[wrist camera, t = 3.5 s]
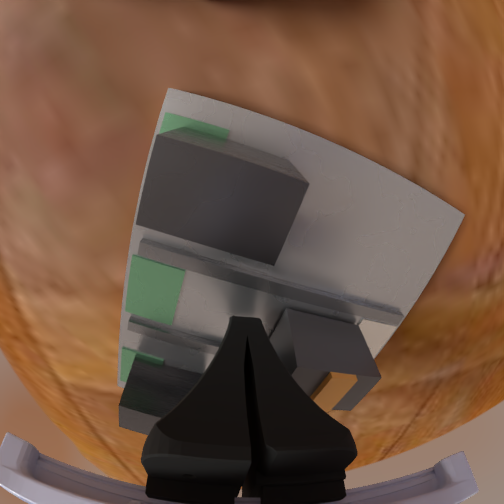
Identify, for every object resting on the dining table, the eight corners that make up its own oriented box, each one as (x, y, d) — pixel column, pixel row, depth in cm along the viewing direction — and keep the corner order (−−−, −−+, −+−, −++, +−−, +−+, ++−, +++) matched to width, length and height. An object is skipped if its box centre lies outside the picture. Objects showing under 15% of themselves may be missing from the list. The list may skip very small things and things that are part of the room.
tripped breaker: (358, 325, 14) (383, 382, 10) (334, 358, 15) (351, 415, 11) (286, 308, 13) (298, 372, 10) (266, 345, 14) (272, 408, 11)
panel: (448, 204, 13) (510, 246, 8) (312, 408, 20) (322, 464, 15) (177, 90, 10) (134, 79, 6) (123, 369, 17) (103, 429, 13)
